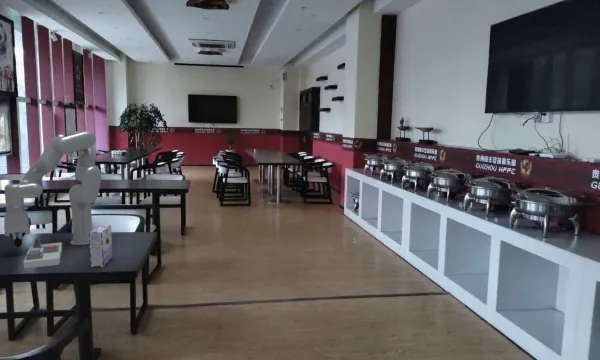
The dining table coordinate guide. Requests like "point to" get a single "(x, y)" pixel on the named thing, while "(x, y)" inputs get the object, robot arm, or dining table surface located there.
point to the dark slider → (37, 243)
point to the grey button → (34, 251)
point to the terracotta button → (51, 246)
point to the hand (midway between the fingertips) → (18, 246)
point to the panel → (44, 257)
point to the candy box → (100, 245)
